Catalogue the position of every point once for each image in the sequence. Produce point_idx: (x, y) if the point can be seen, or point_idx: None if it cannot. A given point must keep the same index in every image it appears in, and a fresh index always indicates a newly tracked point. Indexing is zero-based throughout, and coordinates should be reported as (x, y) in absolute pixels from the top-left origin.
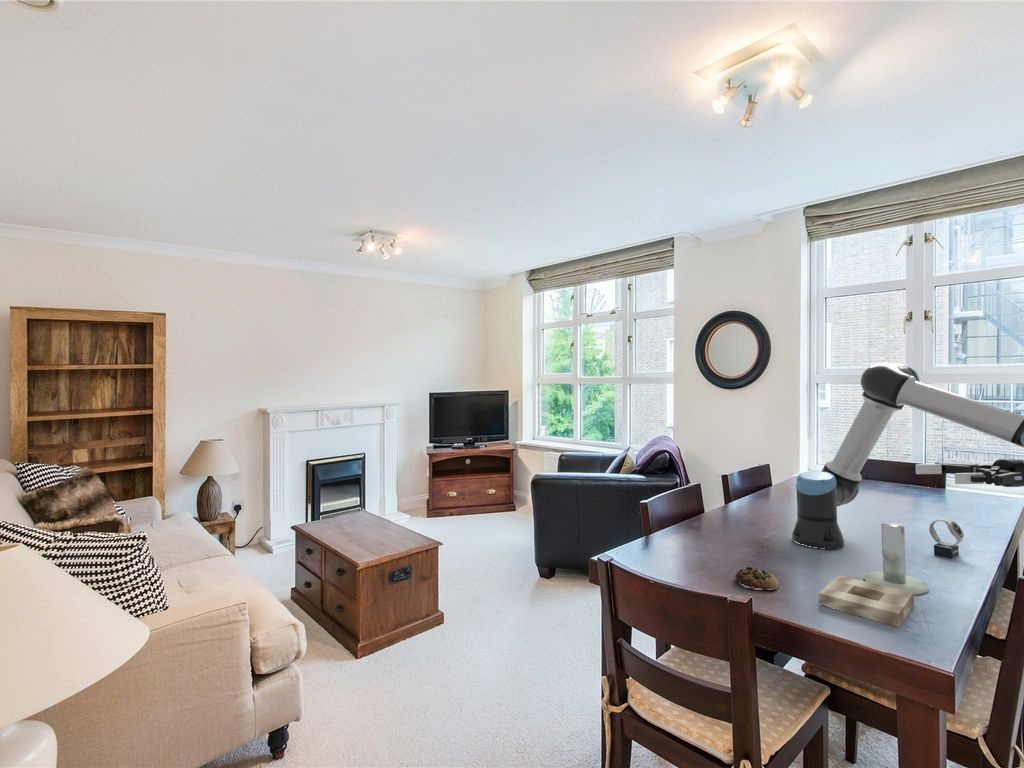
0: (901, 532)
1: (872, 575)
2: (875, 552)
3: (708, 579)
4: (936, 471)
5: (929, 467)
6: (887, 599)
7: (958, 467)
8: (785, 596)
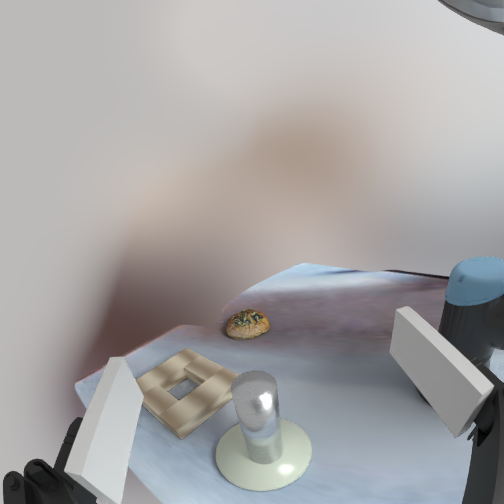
0: (233, 399)
1: (285, 429)
2: (444, 452)
3: (255, 303)
4: (444, 407)
5: (429, 361)
6: (160, 393)
7: (487, 494)
8: (213, 341)
